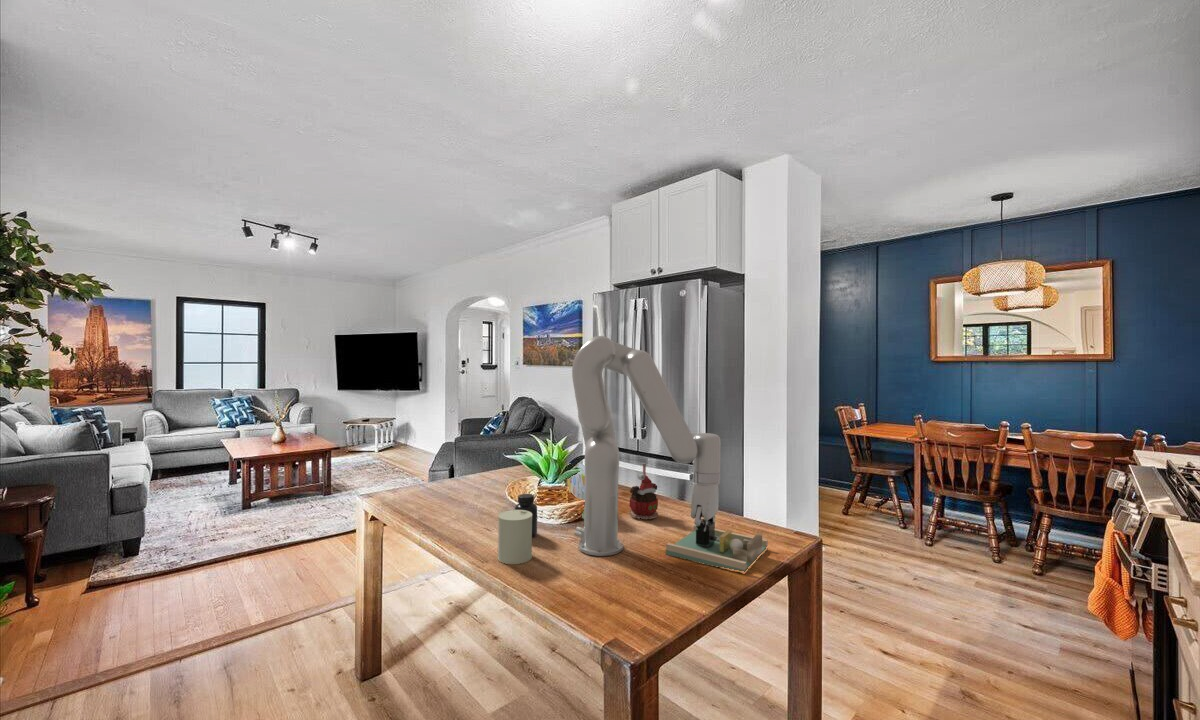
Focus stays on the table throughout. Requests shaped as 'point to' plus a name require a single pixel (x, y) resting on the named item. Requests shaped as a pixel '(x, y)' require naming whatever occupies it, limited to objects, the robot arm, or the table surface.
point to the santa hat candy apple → (644, 498)
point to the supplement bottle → (528, 509)
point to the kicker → (723, 539)
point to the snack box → (578, 484)
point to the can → (515, 536)
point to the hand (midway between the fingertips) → (705, 541)
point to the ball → (736, 544)
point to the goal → (749, 549)
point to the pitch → (710, 551)
